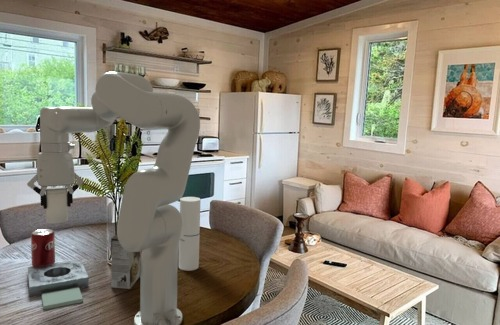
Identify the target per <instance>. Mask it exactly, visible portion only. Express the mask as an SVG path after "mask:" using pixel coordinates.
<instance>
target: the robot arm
mask: <svg viewBox="0 0 500 325" xmlns="http://www.w3.org/2000/svg"><path fill="white" fill-rule="evenodd" d="M94 90H95V92H93V94H92V95H91V99H90V101H91V106H90V107H86V106H83V107H82V106H57V107H56V106H44V107H41V109H40V111H39V117H40V118H39V121H40V122H39V124H40V125H39V126H40V150H41V152H38V154H37V160H36V174H35V175H34V176H33V177H32V178H31V179H30V180H29V181H28V182H27V183H26V185H27V187H29V188H30V189H32V190H33V191H34V192H36V193H37V194H38V196H40V206H42V207H43V210H46V208H47V207H46V192H45V191H46V189H47V188H48V187H62V186H63V187H64V186H66V187H65V188H67V193H68V194H67V196H68V208H70V207H71V205H72V204H73V203H74V202H73V200H74V199H73V196H74V193H75V191H77V190H78V188H79V187H81V186H82V185H83V183H84V182H85V181H84V179H83V178H82V177H81V176H80V175H78V174H77V173H76V172H75V165H74V158H73V154H72V152H71V150H72V149H73V150H74V149H75V144H72V143H70V134H78V133H79V134H80V133H94V132H97V131H98V132H99V131H101V130H103V129H106V128H107V127H110V126H111V125H112V124H114V122H116V118H119V117H120V118H122V119H123V120H124V121H126V122H127V123H129V124H131V125H132V126H134V127H137V128H140V129H143V130H145V129H146V130H147V129H148V130H149V129H150V130H152V129H167V130H168V131H167V133H166V134H165V136H164V137H163V139H162V140H161V142H160V144H159V146H158V149H157V154H156V159H155V163H154V165H153V166H152V167H150V168H143V169H140V170H137V171H136V172H134V173H133V174H131V175H130V176H129V178H128V179H127V181H126V182H125V185H124V189H123V193H122V199H121V203H120V207H119V208H120V209H119V214H118V220H117V224H116V234H117V236H118V240H119V243H120V245H121V246H122V247H123V248H124V249H125V250H127V251H129V252H139V251H140V252H141V253H140V277H139V278H140V281H139V282H140V283H139V284H140V285H139V286H140V287H139V290H140V294H139V295H140V296H139V311H138V312H137V313H136V314H135V316H134V318H133V325H181V324H182V322H183V313H182V311H181V310H180V309H179V308H178V270H179V269H178V268H179V241H180V236H181V232H182V217H181V214H180V210H178V208H177V207H176V206H174V205H172V204H173V203H176V202H178V201H180V199H181V198H183V197H184V194H185V191H186V186H187V183H188V179H189V174H190V171H191V166H192V165H191V164H192V160H193V156H194V152H195V148H196V146H197V142H198V140H199V136H200V129H201V120H200V114H199V112H198V109H197V108H196V106H195V104H194V103H193V102H192V101H190V99H188V98H186V97H184V96H181V95H180V94H175V93H165V92H154V89H153V86H152V83H151V82H150V80H148V79H147V78H146V77H144V76H142V75H140V74H134V73H128V72H121V71H108V72H105V73H103V74H102V75H100V77H99V78H98V80H97V81H96V84H95V89H94ZM75 181H76V183H75ZM36 182H37V185H38V186H40V188H39V187H38V186H37V185H35V183H36Z"/></svg>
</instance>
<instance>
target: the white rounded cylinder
mask: <svg viewBox="0 0 500 325" xmlns="http://www.w3.org/2000/svg"><path fill="white" fill-rule="evenodd" d="M67 192H68V189H67V187H64V186H63V187H62V186H52V187H49V188H48V187H47V189H46V191H45V195H46V207H47V208H46V209H45V212H46V213H45V214H46V215H45V217H46V219H45V220H46V223H47V224H54V225H55V224H56V225H57V224H63V223H67V222H68V221H69V206H68V196H67V194H68V193H67Z"/></svg>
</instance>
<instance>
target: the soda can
mask: <svg viewBox="0 0 500 325" xmlns="http://www.w3.org/2000/svg"><path fill="white" fill-rule="evenodd" d="M55 234H56V233H55V231H54V230H53V229H50V228H41V229H37V230H33V231H32V232H31V234H30V249H31V250H30V251H31V253H30V254H31V255H30V256H31V267H33V266H40V265H47V264H53V263H56V243H55V242H56V239H55V236H56V235H55Z"/></svg>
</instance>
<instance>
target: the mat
mask: <svg viewBox="0 0 500 325" xmlns="http://www.w3.org/2000/svg"><path fill="white" fill-rule="evenodd" d="M80 289H81V288H79V287H77V288H71V289H66V290H61V291H55V292H50V293H44V294H42V295H41V301H42V307H43V310H48V309H53V308H59V307H64V306H69V305H75V304H77V303H83V302H84V298H83V295H82V292H81V290H80Z"/></svg>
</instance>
